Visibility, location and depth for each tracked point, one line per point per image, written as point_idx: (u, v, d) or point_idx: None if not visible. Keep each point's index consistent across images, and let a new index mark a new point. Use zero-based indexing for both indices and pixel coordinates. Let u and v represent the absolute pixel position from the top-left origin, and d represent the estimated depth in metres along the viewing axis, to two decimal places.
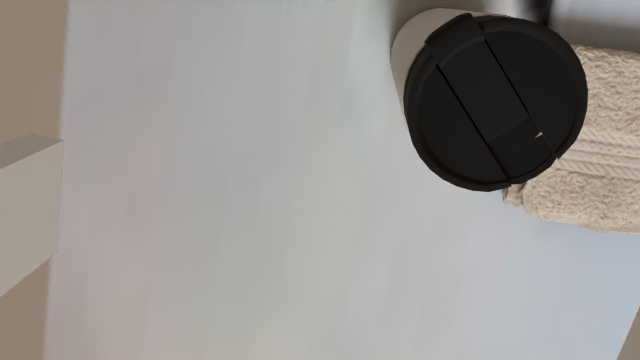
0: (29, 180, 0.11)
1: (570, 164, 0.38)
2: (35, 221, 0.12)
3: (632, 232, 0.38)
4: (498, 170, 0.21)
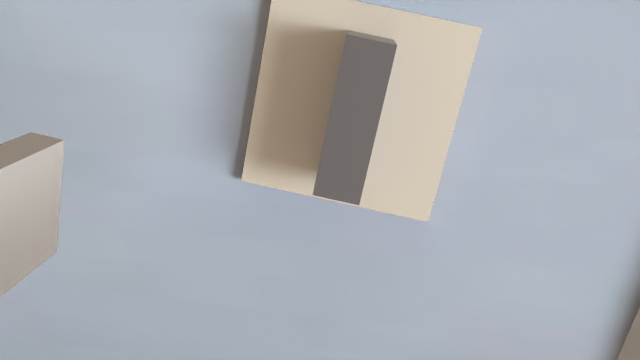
0: (29, 180, 0.11)
1: None
2: (35, 221, 0.12)
3: None
4: None
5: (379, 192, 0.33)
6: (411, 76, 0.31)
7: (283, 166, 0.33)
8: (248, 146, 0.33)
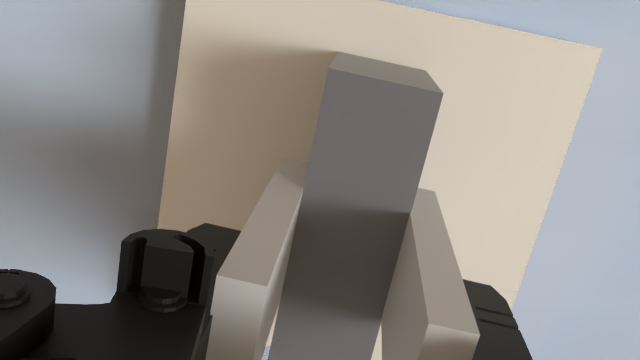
0: None
1: None
2: None
3: None
4: None
5: None
6: (458, 140, 0.16)
7: None
8: None
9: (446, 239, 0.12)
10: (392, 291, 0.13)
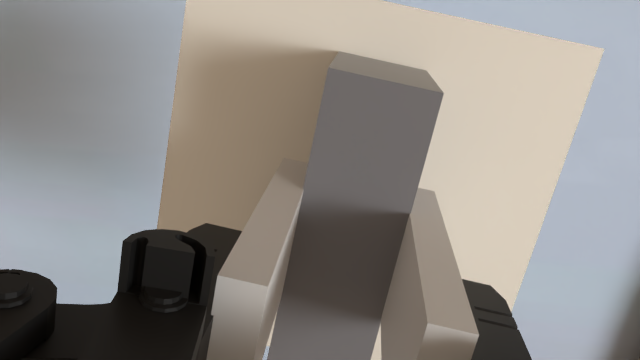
0: None
1: None
2: None
3: None
4: None
5: None
6: (459, 140, 0.16)
7: None
8: None
9: (445, 239, 0.12)
10: (392, 291, 0.13)
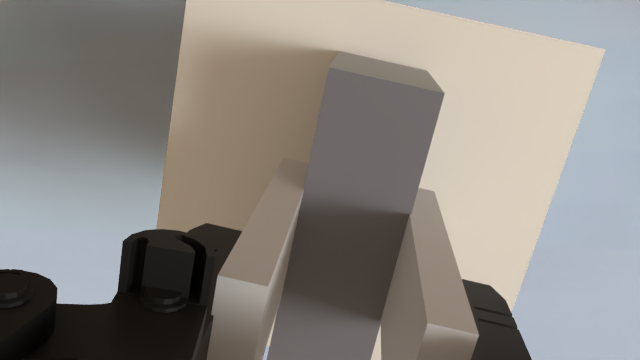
0: None
1: None
2: None
3: None
4: None
5: None
6: (459, 140, 0.16)
7: None
8: None
9: (445, 239, 0.12)
10: (391, 291, 0.13)
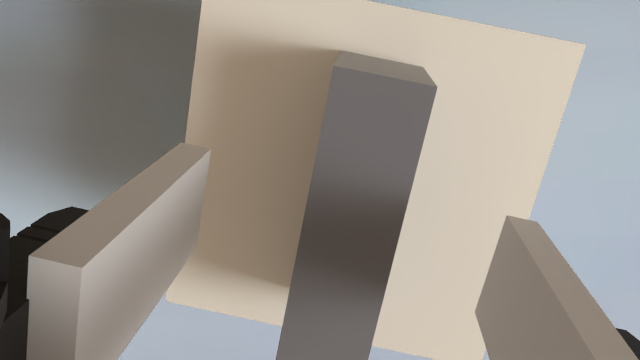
0: (192, 185, 0.13)
1: None
2: (190, 221, 0.14)
3: None
4: None
5: (397, 322, 0.19)
6: (454, 131, 0.17)
7: (235, 279, 0.19)
8: None
9: (577, 281, 0.11)
10: (508, 332, 0.12)
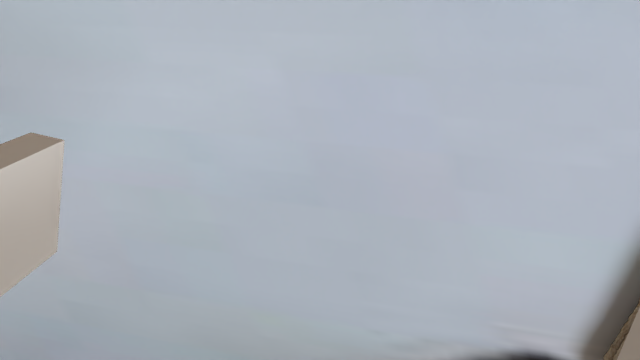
0: (28, 180, 0.11)
1: None
2: (35, 221, 0.12)
3: None
4: None
5: None
6: None
7: None
8: None
9: None
10: None
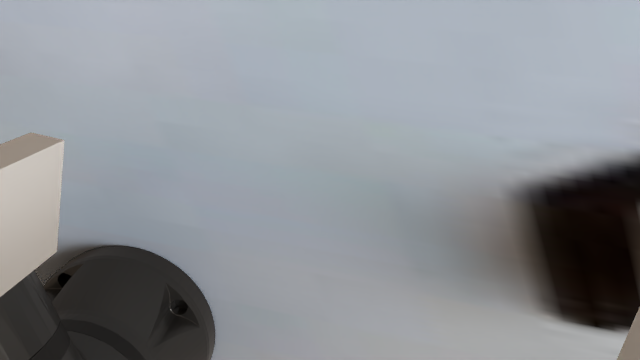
0: (29, 181, 0.11)
1: None
2: (35, 221, 0.12)
3: None
4: None
5: None
6: None
7: None
8: None
9: None
10: None
